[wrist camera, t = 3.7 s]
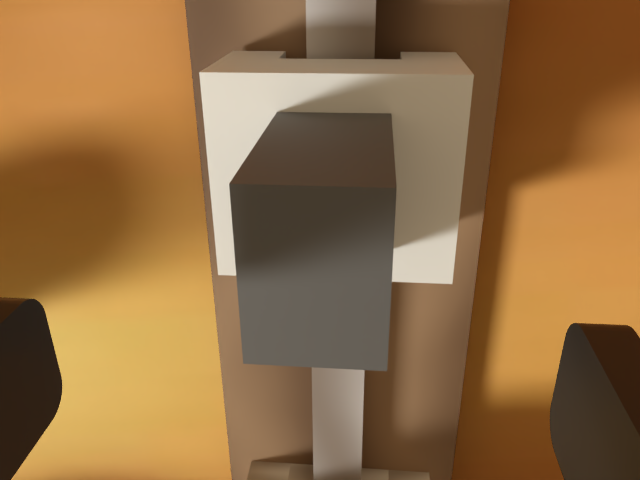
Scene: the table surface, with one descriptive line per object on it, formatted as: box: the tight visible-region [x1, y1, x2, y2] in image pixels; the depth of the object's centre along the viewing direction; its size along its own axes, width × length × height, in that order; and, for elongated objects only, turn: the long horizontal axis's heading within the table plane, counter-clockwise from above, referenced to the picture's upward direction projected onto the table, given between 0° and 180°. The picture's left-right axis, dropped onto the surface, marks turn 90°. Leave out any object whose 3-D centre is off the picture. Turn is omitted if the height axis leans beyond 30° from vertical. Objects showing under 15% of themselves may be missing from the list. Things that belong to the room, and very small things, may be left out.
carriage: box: [199, 51, 474, 371], centre depth 16 cm, size 7×6×9 cm
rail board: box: [185, 0, 510, 480], centre depth 19 cm, size 10×28×11 cm, turn 0°
